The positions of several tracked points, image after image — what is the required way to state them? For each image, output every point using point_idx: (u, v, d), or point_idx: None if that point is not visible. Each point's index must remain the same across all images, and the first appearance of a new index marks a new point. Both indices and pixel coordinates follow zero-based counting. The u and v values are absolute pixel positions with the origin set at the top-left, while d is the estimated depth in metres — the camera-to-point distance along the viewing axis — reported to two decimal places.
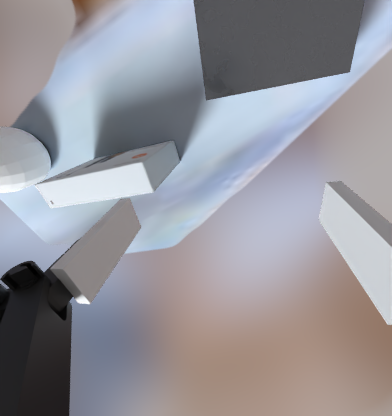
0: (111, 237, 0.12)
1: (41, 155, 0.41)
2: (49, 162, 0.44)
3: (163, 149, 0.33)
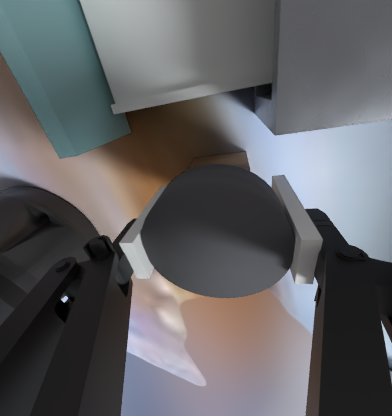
0: None
1: None
2: None
3: None
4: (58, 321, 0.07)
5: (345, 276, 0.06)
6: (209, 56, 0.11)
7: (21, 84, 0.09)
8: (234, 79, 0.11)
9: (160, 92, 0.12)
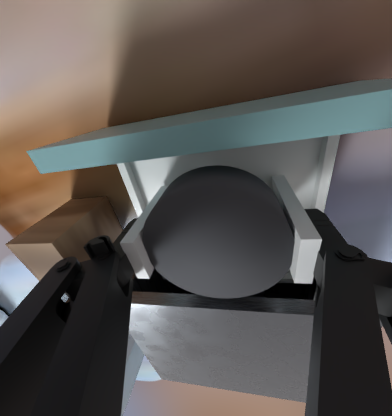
0: None
1: None
2: None
3: None
4: (58, 321, 0.07)
5: (344, 276, 0.06)
6: None
7: (87, 145, 0.09)
8: None
9: (141, 193, 0.16)
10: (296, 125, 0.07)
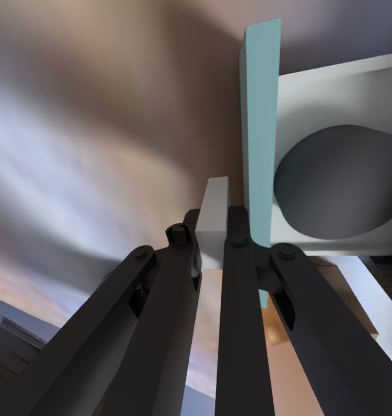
0: None
1: None
2: None
3: None
4: (130, 313, 0.07)
5: (236, 260, 0.07)
6: None
7: None
8: (369, 251, 0.16)
9: (304, 244, 0.17)
10: (262, 162, 0.09)
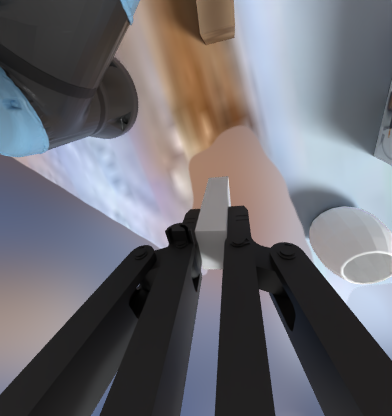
0: None
1: (353, 209, 0.37)
2: (358, 208, 0.39)
3: None
4: (129, 313, 0.07)
5: (236, 260, 0.07)
6: None
7: None
8: None
9: None
10: None
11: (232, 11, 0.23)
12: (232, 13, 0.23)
